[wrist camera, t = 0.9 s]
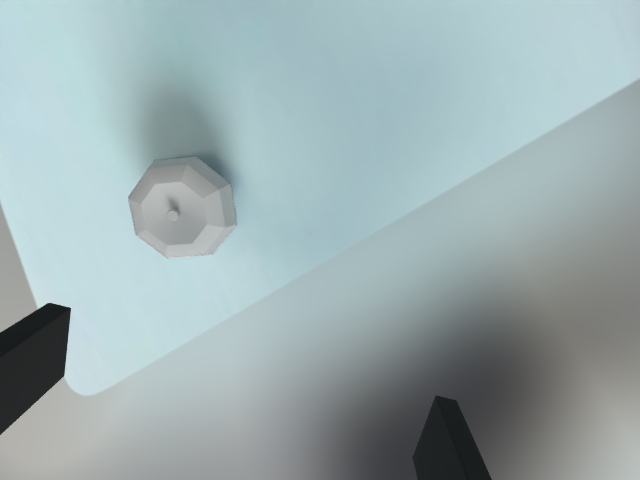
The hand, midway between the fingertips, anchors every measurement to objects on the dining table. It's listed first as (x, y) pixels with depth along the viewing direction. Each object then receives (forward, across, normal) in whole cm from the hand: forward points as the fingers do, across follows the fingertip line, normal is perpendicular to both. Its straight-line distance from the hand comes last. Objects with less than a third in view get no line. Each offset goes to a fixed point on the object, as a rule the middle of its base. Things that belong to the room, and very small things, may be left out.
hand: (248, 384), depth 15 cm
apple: (+22, -8, +1) cm, 23 cm away
